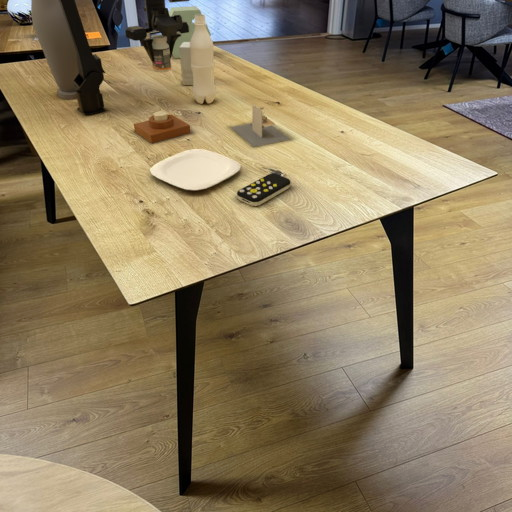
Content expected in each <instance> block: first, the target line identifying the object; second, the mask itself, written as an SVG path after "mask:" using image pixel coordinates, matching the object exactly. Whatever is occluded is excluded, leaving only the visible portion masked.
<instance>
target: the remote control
mask: <svg viewBox="0 0 512 512" xmlns="http://www.w3.org/2000/svg"><path fill="white" fill-rule="evenodd" d="M291 183H292V182H291V180H290V179H289V178H287V177H285V176H283V175H280V174H279V173H268V174H266V175H265V176H263V177H261V178H259V179H257V180H255V181H254V182H251V183H249V184H247V185H246V186H244V187H242V188H240V189H238V190H237V192H236V199H238V201H240V202H243V203H244V204H247V205H249V206H251V207H258V206H261V205H262V204H264V203H266V202H268V201H270V200H271V199H273V198H275V197H276V196H278V195H280V194H282V193H283V192H285V191H286V190H288V189H290V188H291Z"/></svg>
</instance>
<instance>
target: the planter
mask: <svg viewBox="0 0 512 512" xmlns="http://www.w3.org/2000/svg"><path fill="white" fill-rule="evenodd" d="M168 11H169V15H170V16H174V15H180V16H181V17H182V21H184V22H187V23H188V25H189V32H188V33H180V32H179V34H181V37H178V39H177V40H176V42H175V44H174V48H173V52H172V56H173V58H174V59H180V51H179V47H180V46H181V44H182V43H183V42H190V40H191V38H192V35H193V33H194V30H195V25H194V23H195V22H193V21H195V15H198V14H202V15H203V13H202V11H201V9H200V8H199V7H197V6H195V5H193V6H192V5H191V6H173V7H172V6H171V7H170V8H169V10H168ZM205 23H206V29H207V32H208V33H209V35H210V37H211V36H212V34H211V33H212V32H211V31H210V29H209V27H208V24H207V21H206V22H205Z"/></svg>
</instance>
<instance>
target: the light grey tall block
mask: <svg viewBox="0 0 512 512" xmlns="http://www.w3.org/2000/svg"><path fill="white" fill-rule="evenodd" d="M179 51H180V58H179V59H180V69H181V79H182V86H193V72H192V68H191V54H190V42H183V43H182V44H181V46H180V47H179Z"/></svg>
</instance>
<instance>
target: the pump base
mask: <svg viewBox="0 0 512 512" xmlns="http://www.w3.org/2000/svg"><path fill="white" fill-rule="evenodd" d="M167 116H168V119H167V120H164V121H155V120H154V114H153V115H151V116H149V117H148V120H145V121H140V122H136V123H133V129H134V132H135V133H136V134H137V135H139V136H140V137H142V138H144V139H145V140H146V141H148V142H149V143H150V144H154V143H158V142H162V141H165V140H170V139H173V138H175V137H179V136H182V135H187V134H191V124H189V123H188V122H186V121H184V120H182V119H180V118H179V117H177V116H175V115H173V114H168V113H167Z"/></svg>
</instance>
